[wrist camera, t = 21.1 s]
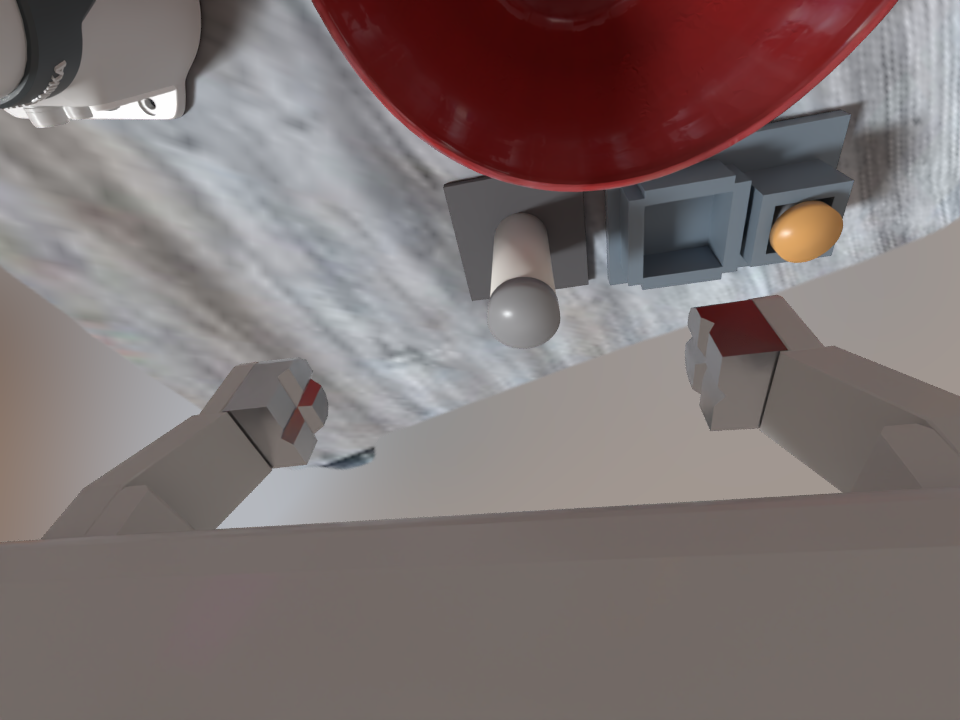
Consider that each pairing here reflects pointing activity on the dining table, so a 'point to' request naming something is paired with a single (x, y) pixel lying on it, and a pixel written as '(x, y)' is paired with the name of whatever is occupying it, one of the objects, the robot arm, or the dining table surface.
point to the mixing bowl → (592, 77)
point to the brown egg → (804, 230)
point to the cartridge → (522, 284)
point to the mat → (493, 200)
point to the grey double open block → (724, 204)
